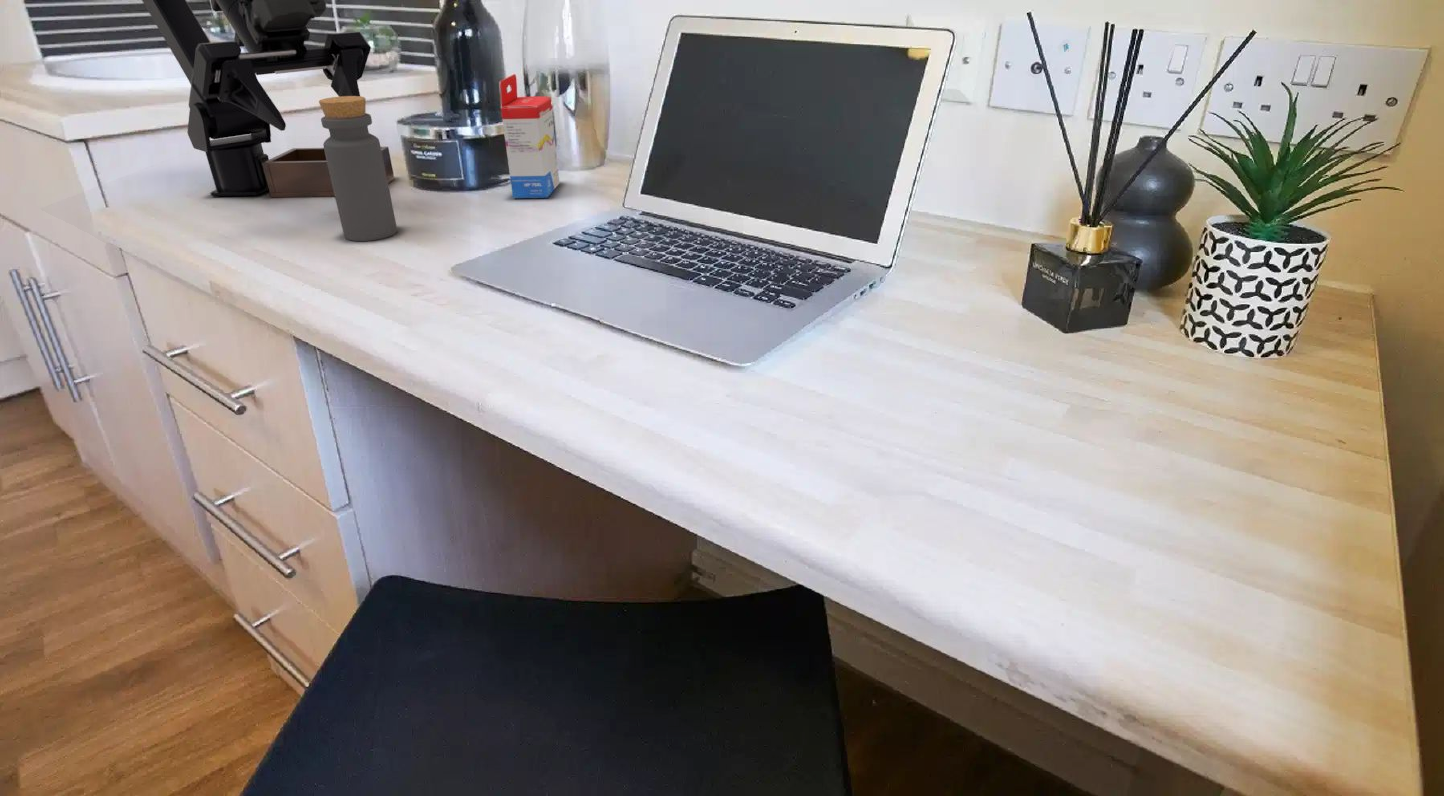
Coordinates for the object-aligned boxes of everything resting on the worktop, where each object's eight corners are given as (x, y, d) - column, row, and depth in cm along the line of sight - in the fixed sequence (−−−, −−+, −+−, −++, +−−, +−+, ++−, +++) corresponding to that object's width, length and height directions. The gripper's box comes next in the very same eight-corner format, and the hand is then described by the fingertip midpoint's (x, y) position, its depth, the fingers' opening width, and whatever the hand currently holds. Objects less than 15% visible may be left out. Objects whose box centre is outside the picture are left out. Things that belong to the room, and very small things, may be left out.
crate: (270, 197, 114) (261, 162, 112) (300, 180, 122) (292, 148, 120) (371, 195, 114) (364, 161, 112) (394, 178, 122) (388, 146, 120)
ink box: (548, 198, 111) (535, 81, 104) (511, 199, 111) (496, 81, 104) (560, 183, 119) (549, 72, 112) (526, 183, 119) (512, 73, 112)
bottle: (403, 235, 97) (376, 99, 90) (350, 244, 94) (318, 104, 87) (390, 224, 102) (363, 93, 95) (339, 232, 99) (307, 98, 92)
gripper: (169, -43, 85) (248, 81, 83) (344, -45, 97) (415, 63, 96) (164, 39, 93) (236, 153, 91) (326, 27, 105) (391, 127, 104)
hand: (324, 121), depth 96 cm, fingers open, 9 cm apart
